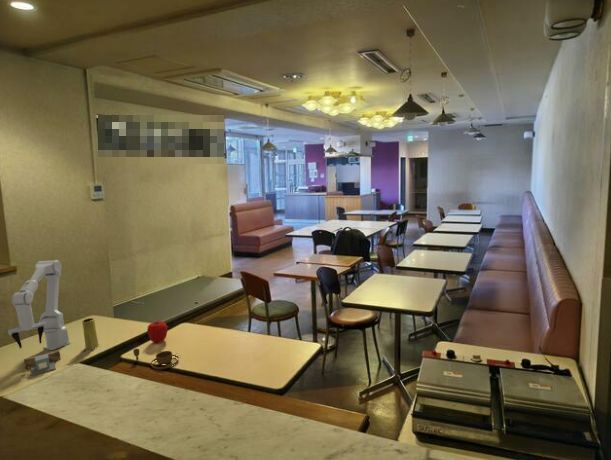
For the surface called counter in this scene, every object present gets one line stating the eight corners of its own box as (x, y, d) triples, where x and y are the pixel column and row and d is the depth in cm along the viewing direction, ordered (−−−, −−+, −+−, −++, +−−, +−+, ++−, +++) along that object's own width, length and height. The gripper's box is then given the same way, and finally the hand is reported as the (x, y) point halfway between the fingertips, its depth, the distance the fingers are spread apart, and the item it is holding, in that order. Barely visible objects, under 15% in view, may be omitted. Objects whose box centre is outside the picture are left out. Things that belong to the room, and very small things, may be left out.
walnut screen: (60, 358, 199) (59, 350, 199) (60, 359, 198) (59, 351, 198) (25, 367, 192) (23, 359, 191) (25, 368, 191) (23, 360, 190)
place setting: (152, 376, 178) (150, 363, 177) (132, 362, 192) (130, 350, 191) (188, 361, 191) (187, 349, 190) (167, 348, 205) (166, 337, 204)
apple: (164, 345, 207) (162, 324, 205) (145, 346, 207) (142, 325, 205) (171, 337, 217) (169, 317, 215) (153, 337, 217) (151, 317, 215)
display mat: (54, 361, 196) (54, 360, 196) (55, 369, 188) (55, 368, 188) (31, 367, 191) (31, 366, 191) (32, 375, 184) (31, 374, 183)
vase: (85, 350, 206) (81, 323, 204) (85, 346, 211) (81, 319, 209) (99, 347, 209) (95, 320, 206) (98, 343, 214) (94, 316, 212)
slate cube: (49, 363, 193) (47, 353, 192) (50, 367, 189) (48, 357, 188) (36, 367, 190) (35, 356, 190) (37, 371, 186) (35, 361, 185)
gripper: (6, 324, 184) (11, 352, 186) (44, 315, 192) (49, 343, 194) (6, 319, 190) (11, 347, 192) (43, 311, 198) (48, 338, 200)
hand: (30, 345), depth 194 cm, fingers open, 7 cm apart
